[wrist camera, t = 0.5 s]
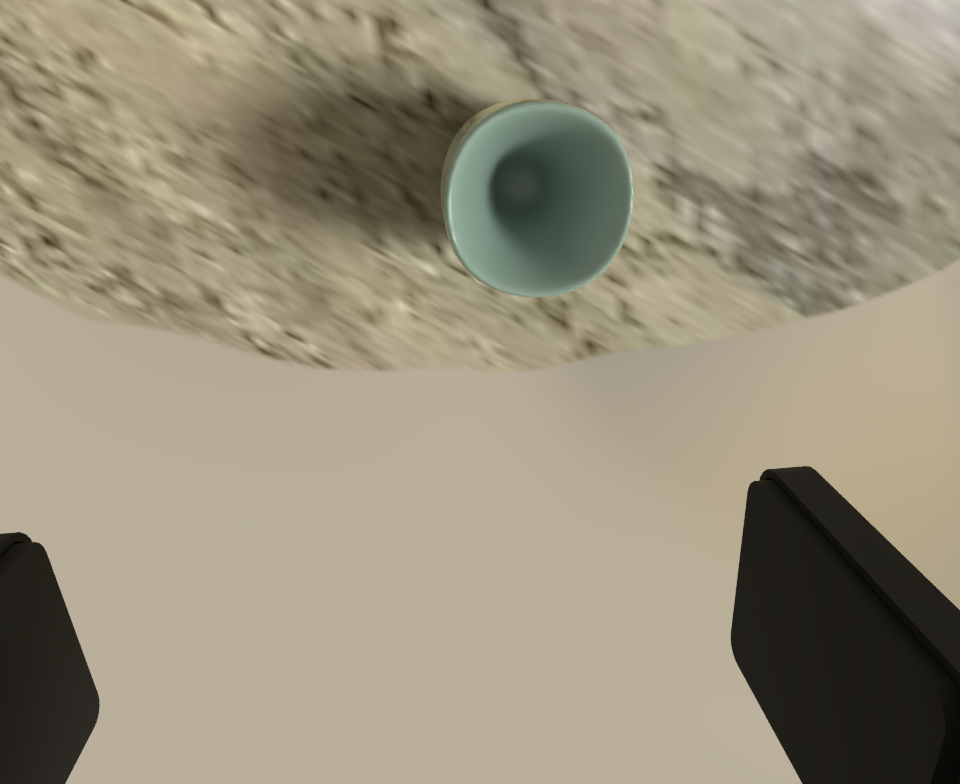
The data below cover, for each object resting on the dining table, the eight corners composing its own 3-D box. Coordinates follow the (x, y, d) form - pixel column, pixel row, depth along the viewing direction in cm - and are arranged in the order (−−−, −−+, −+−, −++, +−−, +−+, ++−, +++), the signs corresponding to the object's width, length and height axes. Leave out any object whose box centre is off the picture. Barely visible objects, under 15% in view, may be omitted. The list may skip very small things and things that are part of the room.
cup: (434, 247, 38) (438, 296, 29) (440, 92, 35) (447, 92, 26) (574, 255, 39) (622, 304, 30) (592, 103, 36) (651, 106, 27)
